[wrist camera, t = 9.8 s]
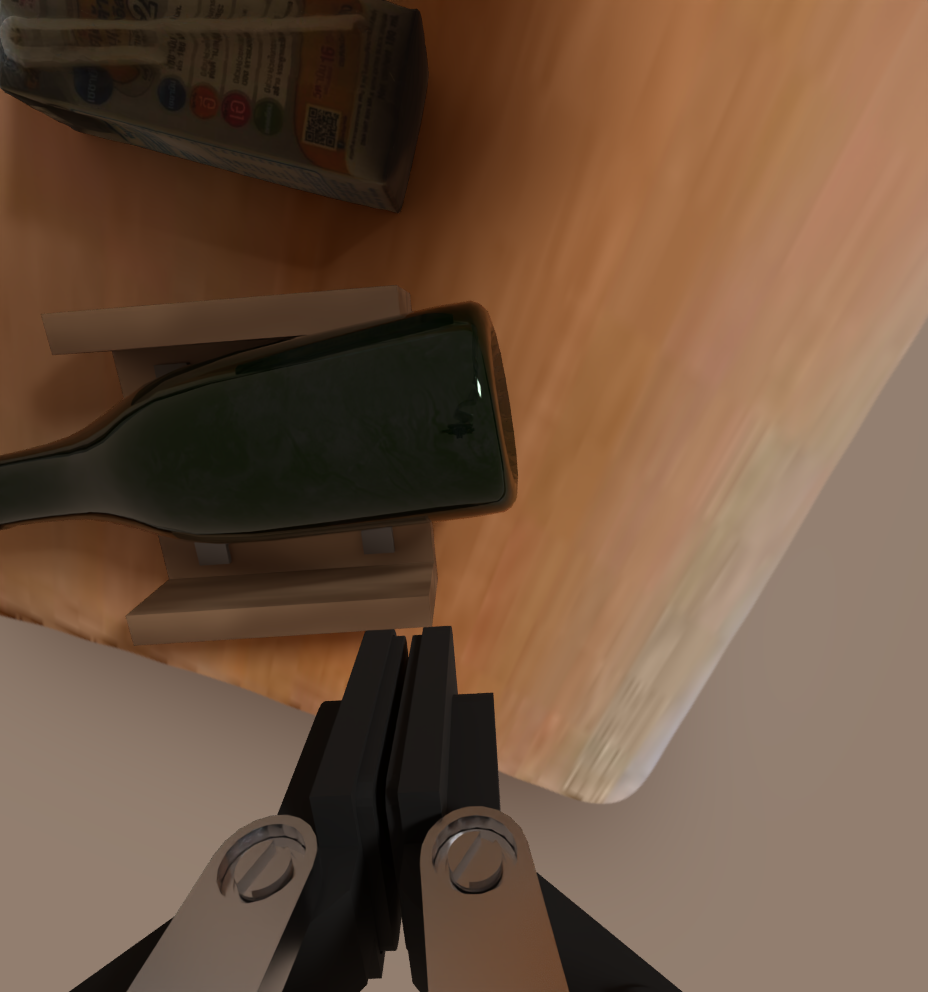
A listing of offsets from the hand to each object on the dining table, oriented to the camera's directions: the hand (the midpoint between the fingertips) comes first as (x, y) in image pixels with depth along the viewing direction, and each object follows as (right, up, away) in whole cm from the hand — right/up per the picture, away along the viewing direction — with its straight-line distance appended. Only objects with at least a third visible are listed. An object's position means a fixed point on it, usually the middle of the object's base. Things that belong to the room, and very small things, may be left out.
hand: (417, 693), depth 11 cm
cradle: (-11, +6, +26) cm, 29 cm away
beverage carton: (-11, +26, +20) cm, 35 cm away
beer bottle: (+3, +8, +17) cm, 19 cm away
